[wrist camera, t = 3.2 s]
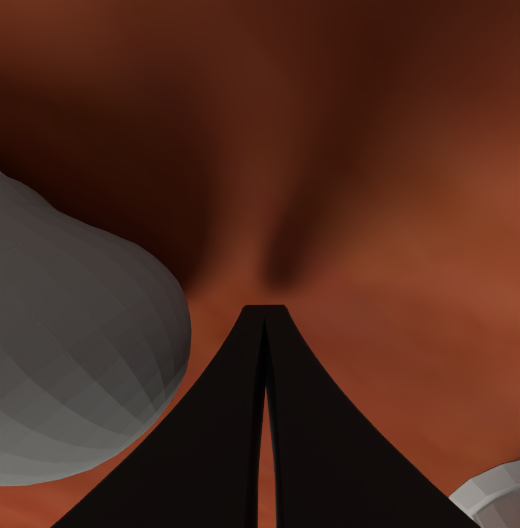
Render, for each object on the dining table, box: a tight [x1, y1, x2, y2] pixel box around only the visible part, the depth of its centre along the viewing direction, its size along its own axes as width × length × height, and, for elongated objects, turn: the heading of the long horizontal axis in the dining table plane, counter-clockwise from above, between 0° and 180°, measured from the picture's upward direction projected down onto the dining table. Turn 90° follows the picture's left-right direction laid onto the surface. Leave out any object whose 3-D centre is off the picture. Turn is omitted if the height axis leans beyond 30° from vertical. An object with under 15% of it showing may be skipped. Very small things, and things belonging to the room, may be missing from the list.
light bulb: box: [0, 171, 191, 486], centre depth 7 cm, size 6×6×10 cm
